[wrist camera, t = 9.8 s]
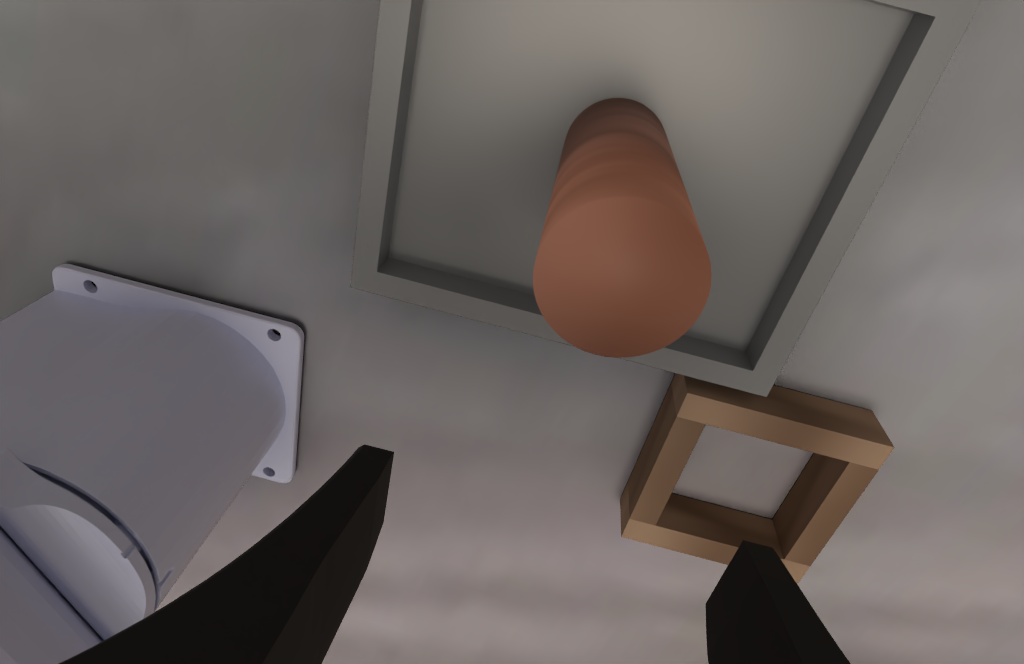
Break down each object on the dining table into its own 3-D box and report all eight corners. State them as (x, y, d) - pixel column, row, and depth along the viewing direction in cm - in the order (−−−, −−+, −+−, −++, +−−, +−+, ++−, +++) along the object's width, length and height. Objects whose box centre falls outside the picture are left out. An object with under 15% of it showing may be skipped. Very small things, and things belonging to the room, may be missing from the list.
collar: (620, 499, 26) (621, 536, 24) (681, 360, 22) (687, 393, 21) (785, 542, 26) (798, 583, 24) (872, 411, 22) (894, 447, 21)
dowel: (552, 187, 19) (515, 333, 12) (579, 85, 18) (558, 176, 10) (647, 212, 19) (674, 375, 12) (682, 113, 18) (741, 224, 10)
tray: (368, 265, 22) (350, 287, 21) (418, -156, 16) (398, -169, 14) (755, 367, 22) (766, 396, 21) (952, -14, 16) (988, -13, 14)
